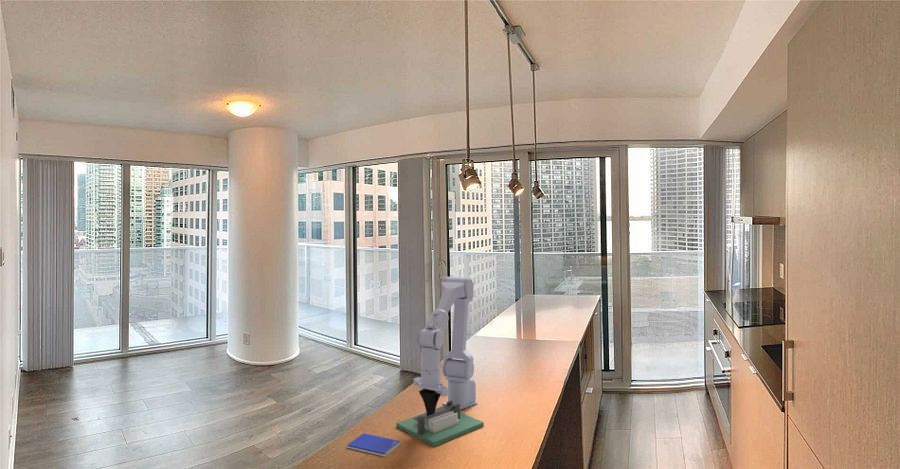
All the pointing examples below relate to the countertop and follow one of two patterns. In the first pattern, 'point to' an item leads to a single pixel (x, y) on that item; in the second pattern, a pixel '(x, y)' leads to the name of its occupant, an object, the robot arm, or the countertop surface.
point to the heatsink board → (440, 425)
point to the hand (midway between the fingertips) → (430, 413)
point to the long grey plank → (437, 411)
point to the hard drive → (374, 444)
